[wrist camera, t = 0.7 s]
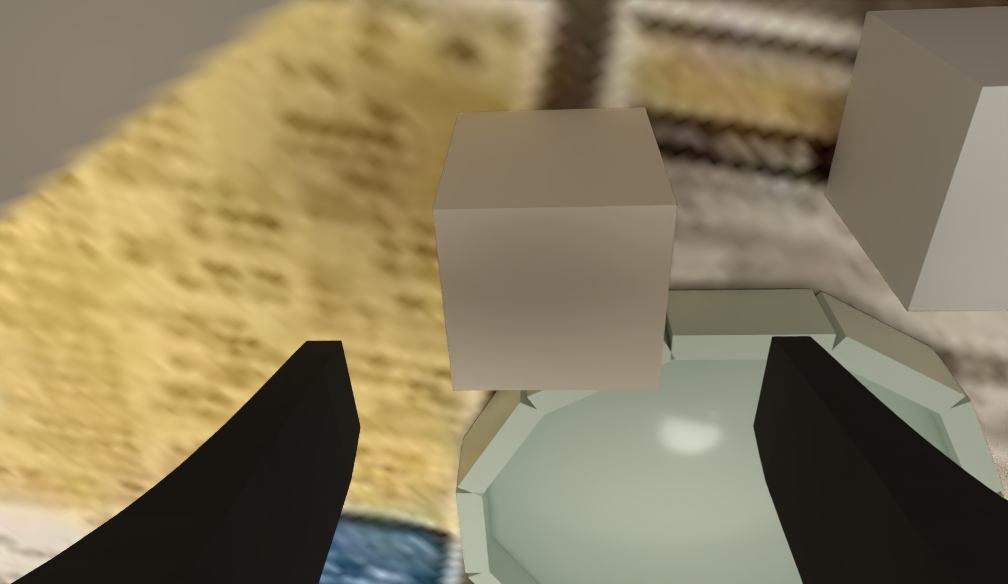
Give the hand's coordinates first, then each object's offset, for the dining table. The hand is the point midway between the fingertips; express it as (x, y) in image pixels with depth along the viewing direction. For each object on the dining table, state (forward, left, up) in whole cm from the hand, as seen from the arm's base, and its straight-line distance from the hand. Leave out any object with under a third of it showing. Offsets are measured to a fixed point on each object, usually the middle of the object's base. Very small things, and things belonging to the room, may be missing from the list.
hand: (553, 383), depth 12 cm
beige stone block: (0, 0, -7) cm, 7 cm away
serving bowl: (-5, +11, -7) cm, 14 cm away
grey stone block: (-9, -2, -7) cm, 12 cm away
